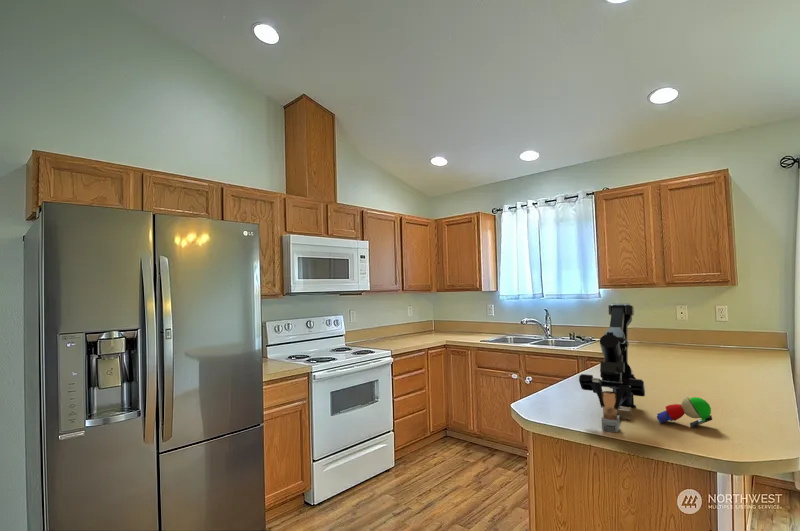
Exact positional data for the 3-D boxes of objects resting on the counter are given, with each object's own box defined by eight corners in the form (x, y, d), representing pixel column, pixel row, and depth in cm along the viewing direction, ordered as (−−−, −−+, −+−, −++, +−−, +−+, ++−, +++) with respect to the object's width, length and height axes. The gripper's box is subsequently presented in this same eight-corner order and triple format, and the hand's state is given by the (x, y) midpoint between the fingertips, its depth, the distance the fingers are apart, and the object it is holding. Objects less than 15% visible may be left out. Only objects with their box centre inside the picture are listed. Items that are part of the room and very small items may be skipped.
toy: (669, 437, 134) (718, 419, 127) (653, 413, 136) (700, 395, 129) (669, 429, 141) (716, 412, 134) (654, 407, 143) (699, 389, 137)
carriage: (604, 425, 135) (602, 390, 136) (619, 427, 133) (618, 391, 133) (602, 429, 131) (600, 393, 132) (617, 432, 128) (615, 395, 129)
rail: (612, 418, 143) (612, 413, 143) (620, 419, 142) (620, 414, 142) (605, 430, 131) (605, 425, 131) (614, 432, 129) (614, 427, 129)
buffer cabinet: (606, 412, 149) (605, 403, 149) (631, 416, 145) (631, 406, 145) (603, 416, 145) (603, 406, 145) (630, 420, 141) (629, 409, 141)
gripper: (578, 349, 141) (572, 389, 132) (642, 353, 131) (641, 397, 121) (584, 369, 148) (579, 408, 138) (645, 374, 137) (644, 417, 127)
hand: (609, 407), depth 131 cm, fingers closed on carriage, 4 cm apart
